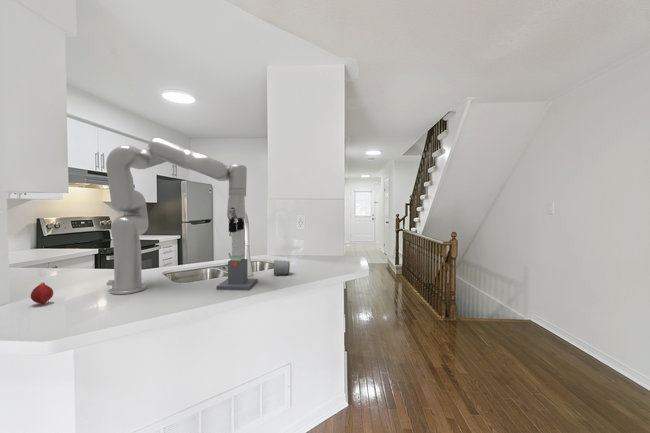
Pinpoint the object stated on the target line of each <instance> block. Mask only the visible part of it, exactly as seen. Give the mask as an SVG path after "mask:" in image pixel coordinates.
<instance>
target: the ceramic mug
mask: <svg viewBox="0 0 650 433" xmlns="http://www.w3.org/2000/svg"><path fill="white" fill-rule="evenodd" d="M290 269H291V268H290V261H289V260H281V259H280V260H279V259H274V261H273V276H285V275H286V276H287V275H289V273H290Z"/></svg>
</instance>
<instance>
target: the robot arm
mask: <svg viewBox="0 0 650 433" xmlns="http://www.w3.org/2000/svg"><path fill="white" fill-rule="evenodd" d="M109 152H110V153H109V154H108V156H107V157H106V162H105V164H106V165H105V168H106V174H107V181H108V190H109V197H110V203H111V207H112V208H113V209H114V210H116V211H118V212H123V215H120V216H117V217H116V218H115V219H114V220H113V221H112V222H111V226H110V234H111V237H112V241H113V242H112V243H113V246H112V247H113V270H114V271H113V273H114V275H113V277H114V279H109V280H108V281H107V282H106V286H109V287H110V286H111V288H110V289H109V293H110V294H113V295H127V294H134V293H139V292H142V291H144V290H146V289H147V285H146V284H145V283H142V279H143V277H142V274H143V273H142V245H141V239H140V236H141V235H143V234H145V233H146V232H147V230H148V228H149V216H148V209H147V201H146V198H145V196H144V195H143V193H141V192H140V191H138V190H135V184H134V177H133V175H132V171H131V168H133V169H135V170H146V169H149V168H152V167H156V166H158V165H161V164H164V163H167V162H168V163H169V164H172V165H175V166H178V167H180V168H183V169H186V170H189V171H194V172H196V173H199V174H202V175H204V176H207V177H209V178H212V179H214V180H216V181H219V182H226V181H228V198H227V199H228V202H227V213H226V216H227V219H228V233H232V232H236V229H244V230H245V214H246V205H245V199H246V198H245V197H247V181H248V180H247V179H248V178H247V175H248V172H247V171H248V170H247V169H248V168H247V166H246V165H244V164H238V163H237V164H231V165H227V164H225V163H223V162H221V161H220V160H217V159H216V158H212V157H210V156H207V155H204V154H201V153H199V152H197V151H195V150H192V149H190V148H187V147H184V146H183V145H181V144H177V143H175V142H173V141H170V140H168V139H166V138H162V137H153V138H151V139H150V140H149V142H148V144H147V147H145V148H142V149H140V148H138V147H136V146H134V145H128V144H127V145H120V146H117V147H115V148H114V149H112V150H111V151H109Z"/></svg>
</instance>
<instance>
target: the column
mask: <svg viewBox="0 0 650 433" xmlns="http://www.w3.org/2000/svg"><path fill="white" fill-rule="evenodd" d="M244 231H245V228H244V229H237V228H236V232H231V260H232V261H243V260H244V259H245V246H244V245H245V240H244V237H245V236H244V235H245V232H244Z"/></svg>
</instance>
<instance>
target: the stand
mask: <svg viewBox="0 0 650 433" xmlns="http://www.w3.org/2000/svg"><path fill="white" fill-rule="evenodd" d="M248 271H249V270H248V258H244V260H243V261H232V259H230V260H228V261H227V278H226V279H225V280H224V281H222V282H220V283H219V284H217V285H216V287H215V290H217V291H220V290H221V291H250V290H251V289H252V288H253V287H254V286H255V285H256V284H257V283H258V280H259V279H258V278H249V277H248V274H249V273H248Z"/></svg>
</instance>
